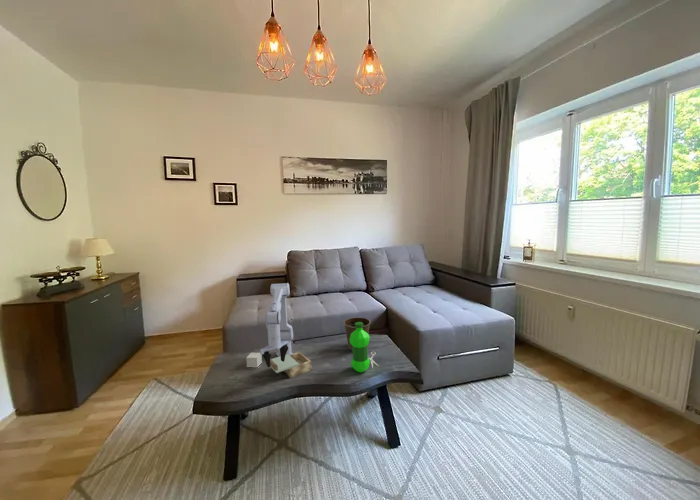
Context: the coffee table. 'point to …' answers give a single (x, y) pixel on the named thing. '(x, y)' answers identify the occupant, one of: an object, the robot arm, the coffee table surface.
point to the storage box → (302, 367)
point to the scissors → (372, 359)
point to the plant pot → (351, 327)
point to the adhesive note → (254, 359)
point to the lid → (283, 363)
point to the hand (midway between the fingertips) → (275, 363)
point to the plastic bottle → (359, 348)
